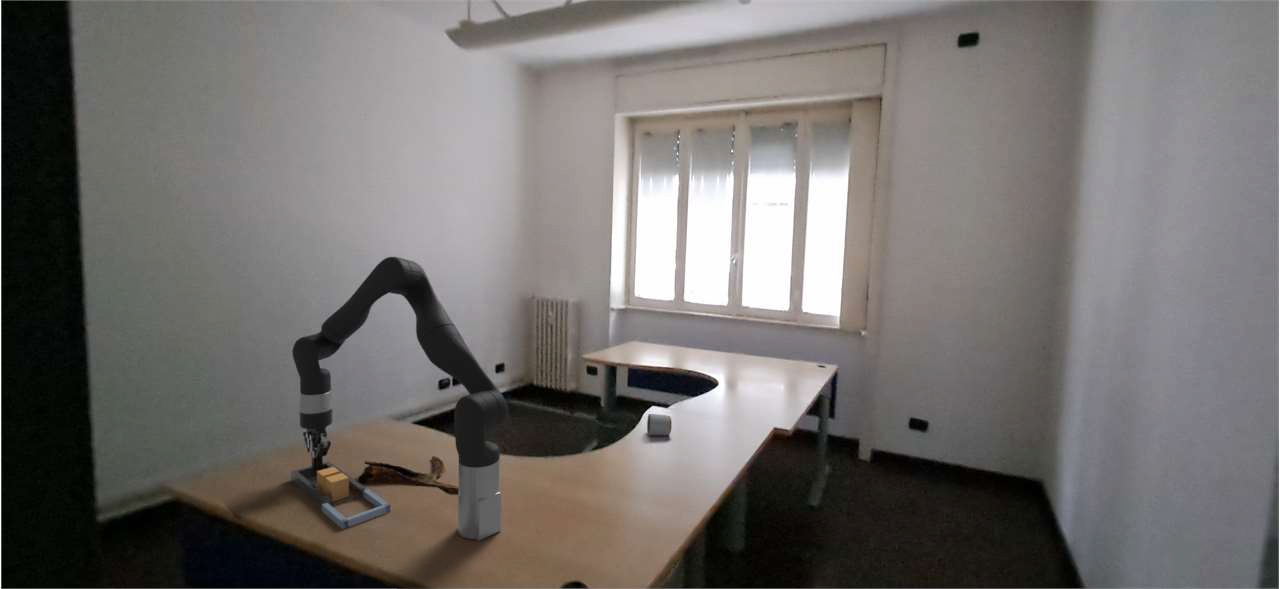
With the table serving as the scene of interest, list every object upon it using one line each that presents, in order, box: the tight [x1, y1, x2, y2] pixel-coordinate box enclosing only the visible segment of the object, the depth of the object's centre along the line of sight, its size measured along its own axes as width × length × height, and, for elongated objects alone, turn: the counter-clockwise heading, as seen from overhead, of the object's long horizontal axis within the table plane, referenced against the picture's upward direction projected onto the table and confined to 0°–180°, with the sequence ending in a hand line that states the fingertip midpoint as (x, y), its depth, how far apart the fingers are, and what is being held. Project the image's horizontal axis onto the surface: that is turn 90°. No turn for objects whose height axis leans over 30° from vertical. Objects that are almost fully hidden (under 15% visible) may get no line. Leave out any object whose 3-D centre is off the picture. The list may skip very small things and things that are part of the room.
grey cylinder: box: [646, 413, 673, 437], centre depth 196 cm, size 11×8×8 cm
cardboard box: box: [325, 473, 349, 502], centre depth 137 cm, size 4×4×5 cm
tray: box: [321, 488, 391, 530], centre depth 130 cm, size 12×11×3 cm
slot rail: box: [290, 460, 366, 508], centre depth 141 cm, size 23×9×4 cm, turn 51°
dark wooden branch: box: [358, 455, 459, 494], centre depth 154 cm, size 23×6×30 cm
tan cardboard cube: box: [317, 467, 340, 494], centre depth 140 cm, size 4×4×5 cm
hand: (317, 469), depth 145 cm, fingers closed
